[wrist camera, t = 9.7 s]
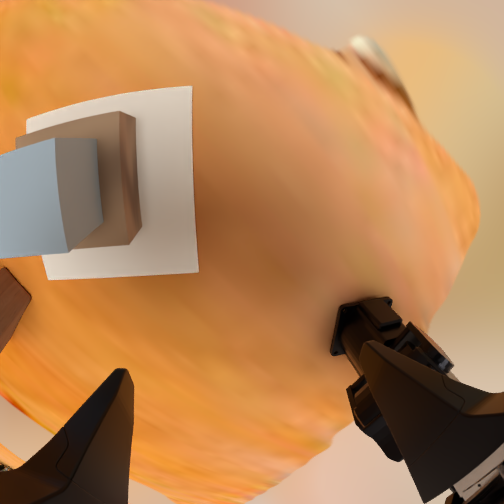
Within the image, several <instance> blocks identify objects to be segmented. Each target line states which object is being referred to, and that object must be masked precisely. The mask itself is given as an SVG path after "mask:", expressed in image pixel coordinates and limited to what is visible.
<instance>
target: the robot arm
mask: <svg viewBox="0 0 504 504" xmlns="http://www.w3.org/2000/svg"><path fill="white" fill-rule="evenodd" d="M387 302H388V303H387ZM391 305H392V299H391V298H390V297H386V298H378V299H373V300H367V301H362V302H358V303H352V304H345V305H342V306H341V307H340V308H339V312H338V317H337V322H336V327H335V331H334V336H333V341H332V345H331V350H330V353H331V355H332V356H338V355H342V354H345V355H346V356H347V358H348V359H349V361H350V362H351V364H352V365H353V367H354V368H355V370H356V372H357V373H358V375H359V376H360V378H359V379H358V380H357V381H356V382H354V383H353V384H352V385H350V386H349V387H348V388H347V389H346V391H347V395H348V398H349V402H350V406H351V409H352V413H353V417H354V420H355V424H356V425H357V426H358V427H359V429H360V430H361V431H363V432H364V433H365V434H366V435H368V436H369V437H371V438H373V439H374V441H375V442H377V444H378V445H379V446H380V448H381V449H382V451H383V452H384V453H385V455H386V456H387V457H388V458H389V459H391V460H394V461H396V462H400V461H402V460H403V459H404V460H405V463H406V465H407V467H408V469H409V472H410V474H411V476H412V478H413V480H414V483H415V485H416V487H417V489H418V492H419V494H420V496H421V499H422V501H423V503H424V504H425V503H427V502H429V501H430V500H432V499H434V498H435V497H437V496H438V495H440V494H441V493H443V492H444V491H446V490H447V489H449V488H450V490H451V491H452V492H453V493H452V494H451V495H450V496H448V497H447V498H446V501H445V504H504V392H501V393H489V392H485V391H482V390H480V389H477V388H474V387H471V386H469V385H466V384H463V383H461V382H460V381H459V380H458V379H457V378H456V377H455V376H454V375H453V374H452V373H451V372H450V370H451V369H452V368H453V366H454V364H453V363H452V361H451V360H450V359H449V357H448V356H447V355H446V354H445V352H444V351H443V350H442V349H441V348H440V347H439V346H438V345H437V344H436V343H435V342H434V341H433V340H432V339H431V338H430V337H429V336H428V335H427V334H426V333H424V332H423V331H422V330H421V329H419V328H418V327H417V326H416V325H414V324H413V323H412V322H410V321H409V323H408V324H407V325H406V326H407V327H406V326H405V325H404V324H403V323H402V319H401V317H400V316H399V315H398V314H397V313H396V312H394V311H393V310H392V309H391ZM344 309H345V310H344ZM343 310H344V311H343ZM133 425H134V384H133V381H132V379H131V376H130V374H129V372H128V370H127V369H125V368H117V369H115V370H114V371H113V372H112V373H111V374H110V376H109V377H108V378H107V379H106V380H105V381H104V382H103V383H102V384H101V385H100V386H99V387H98V388H97V390H96V391H95V392H94V393H93V394H92V395H91V396H90V397H89V398H88V399H87V400H86V402H85V403H84V404H83V405H82V406H81V407H80V408H79V409H78V410H77V411H76V413H75V414H74V415H73V416H72V417H71V418H70V419H69V420H68V421H67V423H66V424H65V425H64V427H62V428H61V429H60V430H59V431H58V433H57V434H56V435H55V436H54V437H53V438H52V439H51V440H50V441H49V442H48V443H47V444H46V445H45V446H44V447H43V448H41V450H39V451H38V452H37V453H36V454H35V455H34V456H32V457H31V458H30V459H29V460H28V461H27V462H26V463H24V464H23V465H22V466H20V467H19V468H17V469H14V470H9V471H0V504H128V485H129V468H130V455H131V444H132V435H133Z"/></svg>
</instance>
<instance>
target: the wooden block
mask: <svg viewBox="0 0 504 504" xmlns="http://www.w3.org/2000/svg"><path fill="white" fill-rule="evenodd" d="M30 299H31V297H30V295H29V294H28V293H27V292H26V291H25V289H24V288H23V287H22V286H21V285H20V284H19V283H18V282H17V281H16V280H15V278H14V277H13V276H12V275H11V274H10V273H9V271H8V270H7V269H6V268H2V269H1V270H0V353H1V352H2V350H3V349H4V347H5V346H6V344H7V343H8V341H9V340H10V338H11V336H12V334H13V332H14V330H15V328H16V326H17V324H18V322H19V320H20V318H21V317H22V315H23V313H24V311H25V309H26V307H27V306H28V304H29V302H30Z"/></svg>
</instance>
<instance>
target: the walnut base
mask: <svg viewBox="0 0 504 504" xmlns="http://www.w3.org/2000/svg"><path fill="white" fill-rule="evenodd" d="M52 138H93V139H97V160H98V175H99V187H100V197H101V206H102V214H103V221H104V222H103V223H102V224H101V225H99V226H98V227H97V228H96V229H95V230H94V231H92V232H91V233H90V234H89V235H88V236H87V237H86V238H84V239H83V240H82V241H81V242H80V243H79V244H78V245H77V246H76V247H74V248H73V249H84V248H97V247H109V246H122V245H129V244H130V243H131V242H132V240H133V239H134V237H135V236H136V234H137V233H138V232H139V230H140V229H141V227H142V220H141V210H140V200H139V188H138V174H137V154H136V118H135V117H133V116H131V115H128V114H126V113H124V112H121V111H115V112H109V113H104V114H99V115H94V116H90V117H85V118H81V119H77V120H73V121H69V122H65V123H61V124H58V125H54V126H51V127H47V128H44V129H41V130H38V131H35V132H32V133H29V134H26V135H23V136H20V137H17V138H16V149H19V148H22V147H25V146H28V145H31V144H35V143H38V142H41V141H45V140H48V139H52Z"/></svg>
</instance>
